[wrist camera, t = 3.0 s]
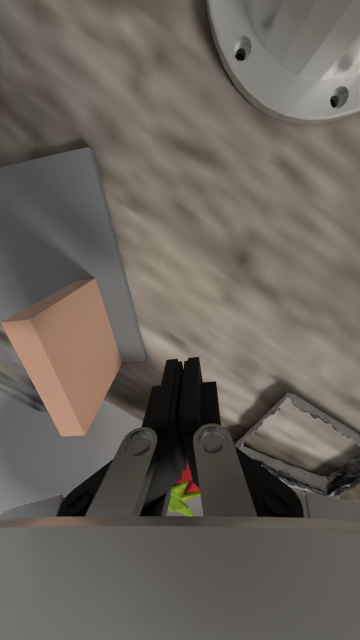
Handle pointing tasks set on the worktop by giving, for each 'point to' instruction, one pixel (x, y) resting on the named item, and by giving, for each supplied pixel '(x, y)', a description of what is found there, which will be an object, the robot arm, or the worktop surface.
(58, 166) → the mat
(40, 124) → the worktop surface
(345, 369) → the worktop surface
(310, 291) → the worktop surface
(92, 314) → the tile
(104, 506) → the robot arm
